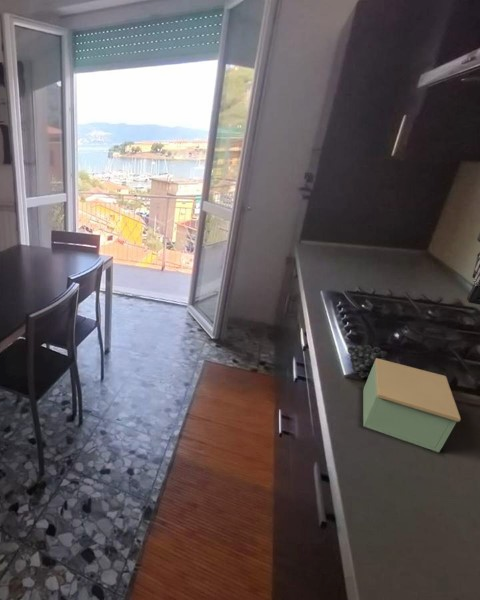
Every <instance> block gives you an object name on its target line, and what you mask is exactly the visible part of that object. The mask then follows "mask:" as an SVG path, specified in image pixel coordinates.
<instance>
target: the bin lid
mask: <svg viewBox="0 0 480 600" xmlns="http://www.w3.org/2000/svg"><path fill="white" fill-rule="evenodd" d="M375 369H376V386H377V397H379V398H382V399H386V400H389V401H392V402H395V403H399V404H402V405H405V406H409V407H412V408H415V409H418V410H422V411H425V412H428V413H431V414H435V415H438V416H441V417H445V418H448V419H451V420H454V421H457V423H459V422H461V415H460V412H459V410H458V406H457V404H456V401H455V397H454V396H453V393H452V390H451V387H450V384H449V381H448V378H447V376H446V375H443V374H439V373H435V372H432V371H428V370H424V369H419V368H417V367H412V366H409V365H404V364H402V363H401V364H400V363H396V362H393V361H391V362H389V361H385V360H382V359H378V358H376V359H375Z"/></svg>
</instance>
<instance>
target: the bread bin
mask: <svg viewBox="0 0 480 600" xmlns="http://www.w3.org/2000/svg"><path fill="white" fill-rule="evenodd" d="M362 393H363V394H362V403H363V404H362V408H363V409H362V412H363V413H362V416H363V417H362V420H363V421H362V422H363V424H362V426H363V427H364V428H367V429H369V430H373V431H375V432H379V433H381V434H383V435H386V436H390V437H392V438H396V439H398V440H401V441H404V442H408V443H410V444H413V445H416V446H419V447H422V448H425V449H427V450H431V451H433V452H436V453H441V450H442V448H443V447H444V445H445V444H446V442H447V440H448V439H449V436H450V435H451V433H452V431H453V430H454V428H455V426H456V424H457V423H458V421H454V420H451V419H448V418H445V417H441V416H438V415H435V414H431V413H428V412H425V411H422V410H418V409H415V408H412V407H409V406H405V405H402V404H399V403H395V402H392V401H389V400H386V399H382V398H379V397H377V386H376V369H375V362H374V364H373V367H372V369H371V372H370V374H369V376H368V379H367V378H366V381H365V384H364V386H363V389H362Z"/></svg>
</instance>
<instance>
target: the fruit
mask: <svg viewBox="0 0 480 600" xmlns="http://www.w3.org/2000/svg"><path fill="white" fill-rule="evenodd" d="M347 353H348V354H350V356H349V357H350V363H351V368H352V370H353V371H354V373H355V374H356V375H358V377H360V378H361V379H366V380H367V379H368V376H369V374H370V372H371V369H372V367H373V364H374V362H375V359H376V358H378V359H382V360H385V361H389V362H392V361H391V360H390V359H389V358H387V357H388V356H389V354H388V352H387V351H385V350H382V349H381V347H379V346H374V347H372V346H371V345H370V344H364V345H362V344H359V345H353V346H349V347H348V348H347ZM358 372H359V373H358Z"/></svg>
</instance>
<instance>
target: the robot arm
mask: <svg viewBox="0 0 480 600" xmlns="http://www.w3.org/2000/svg"><path fill="white" fill-rule="evenodd" d="M476 240H477V241H478V242H479V243H480V232H479V233H478V236H477V239H476ZM476 256H477V257H476V261H475V265H474V268H473V274H472V279H473V280H472V284H473V285H472V287H471V289H470V291H469V293H468V295H467V297H466V301H467V302H468V303H469V304H474V305H480V252H478V253H477V255H476Z"/></svg>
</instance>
